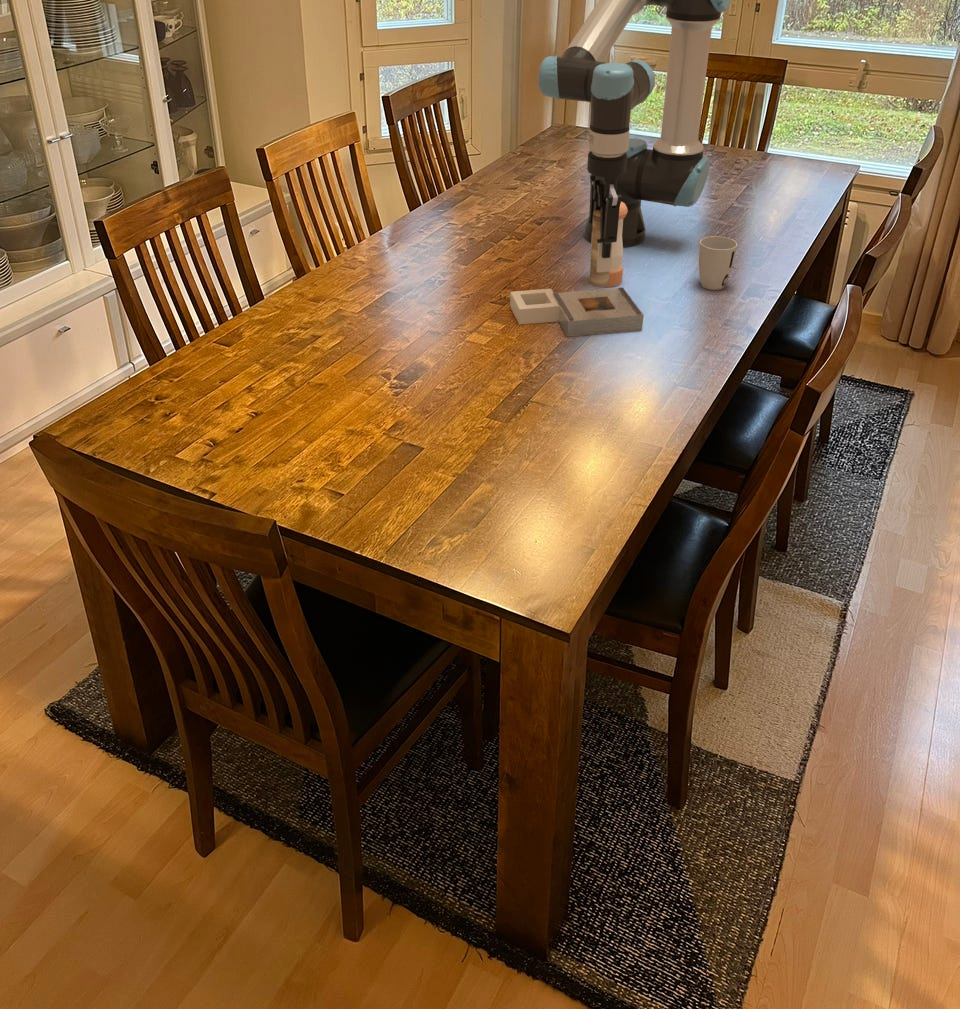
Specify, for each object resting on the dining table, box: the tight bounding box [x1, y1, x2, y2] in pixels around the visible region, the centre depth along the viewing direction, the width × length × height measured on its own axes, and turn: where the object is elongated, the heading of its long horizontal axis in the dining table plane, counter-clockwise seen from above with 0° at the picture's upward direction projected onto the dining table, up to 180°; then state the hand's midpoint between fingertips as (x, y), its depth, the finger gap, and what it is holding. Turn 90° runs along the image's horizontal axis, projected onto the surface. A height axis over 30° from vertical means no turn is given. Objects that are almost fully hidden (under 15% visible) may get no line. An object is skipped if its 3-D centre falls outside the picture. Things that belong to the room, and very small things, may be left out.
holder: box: [509, 288, 560, 326], centre depth 213 cm, size 9×9×4 cm
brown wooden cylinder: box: [588, 209, 609, 288], centre depth 203 cm, size 4×4×15 cm
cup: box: [698, 235, 738, 291], centre depth 223 cm, size 8×8×10 cm
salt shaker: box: [603, 202, 628, 288], centre depth 222 cm, size 7×7×19 cm
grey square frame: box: [553, 287, 645, 338], centre depth 211 cm, size 14×16×4 cm
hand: (600, 266), depth 205 cm, fingers closed on brown wooden cylinder, 4 cm apart
